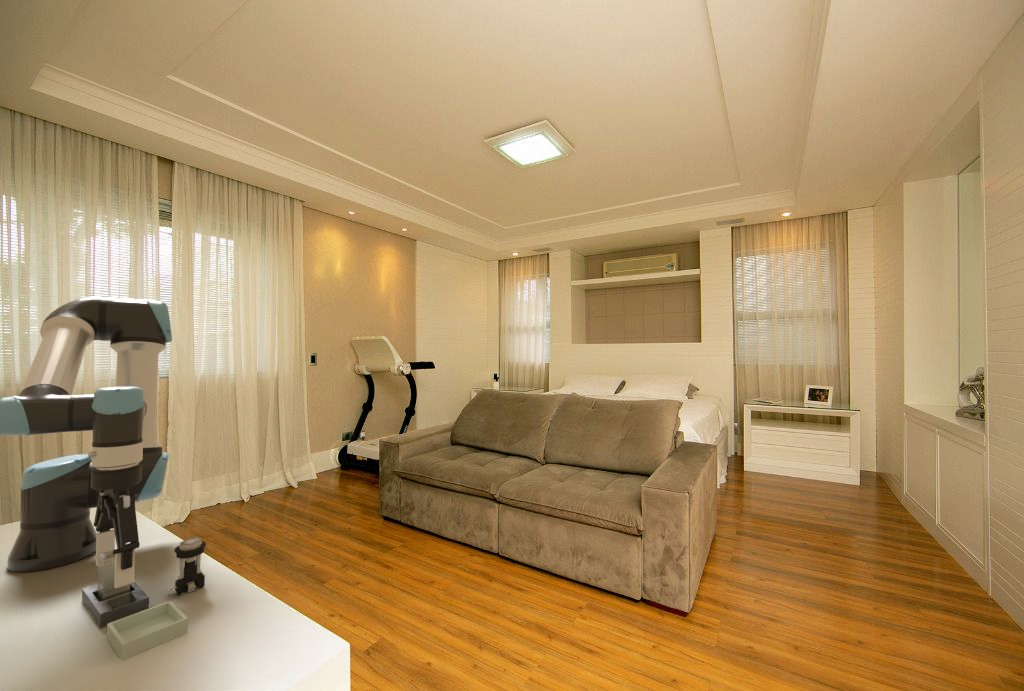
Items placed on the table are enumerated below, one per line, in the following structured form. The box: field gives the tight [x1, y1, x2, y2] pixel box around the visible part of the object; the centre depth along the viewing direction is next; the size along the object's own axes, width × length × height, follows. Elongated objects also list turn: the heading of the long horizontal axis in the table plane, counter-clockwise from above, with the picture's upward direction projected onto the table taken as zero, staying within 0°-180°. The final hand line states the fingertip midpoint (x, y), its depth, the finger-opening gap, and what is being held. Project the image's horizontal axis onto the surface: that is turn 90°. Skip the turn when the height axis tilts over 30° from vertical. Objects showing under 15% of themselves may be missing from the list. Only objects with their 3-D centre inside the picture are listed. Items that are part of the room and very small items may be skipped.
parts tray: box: [106, 600, 189, 661], centre depth 78 cm, size 9×9×2 cm
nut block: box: [97, 550, 130, 602], centre depth 87 cm, size 4×4×10 cm
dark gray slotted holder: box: [81, 581, 150, 629], centre depth 86 cm, size 14×7×3 cm, turn 54°
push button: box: [165, 537, 207, 597], centre depth 92 cm, size 7×5×10 cm
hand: (114, 573), depth 87 cm, fingers open, 13 cm apart
